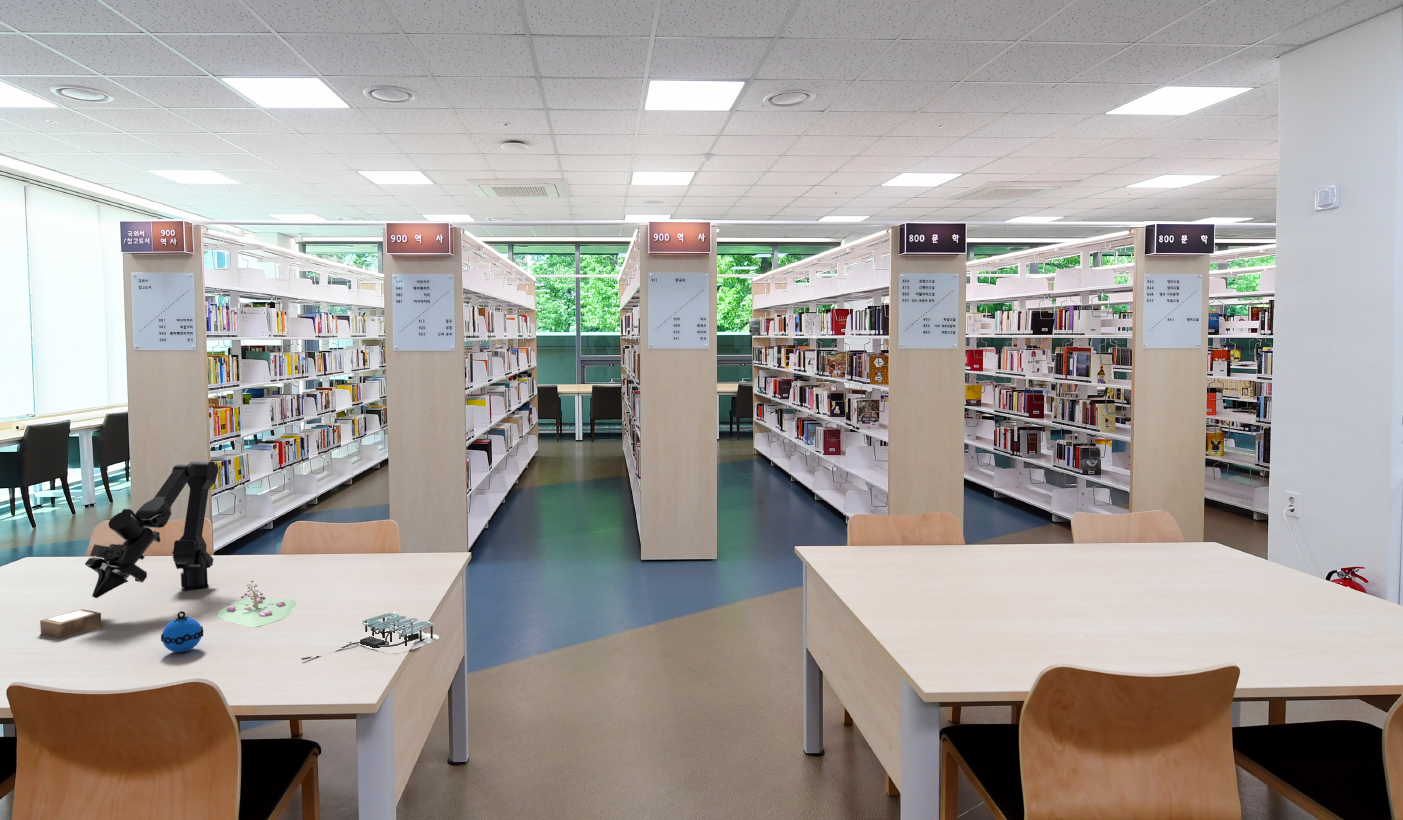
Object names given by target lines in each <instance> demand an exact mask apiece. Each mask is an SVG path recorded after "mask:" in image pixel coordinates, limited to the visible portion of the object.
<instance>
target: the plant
mask: <svg viewBox="0 0 1403 820" xmlns="http://www.w3.org/2000/svg"><path fill="white" fill-rule="evenodd" d="M250 582H251V583H254V580H250ZM246 586H247V589H248V590H247V593H244V595H242V596H240V598H241V599H240V600H237V601H235V602H233V603H231V604H230V605H228V606H226V607H224V608H223V609H221V610H219V611H218V612H217V615H216V617H217V618H218V619H221V620H224V621H226V622H229V623H233V624H236V625H237V624H238V625H241V626H245V627H249V628H257V627H263V626H267V625H270V624H273V623H275V622H279V621H282V620H284V619H286V618H288V617H289V616H290V614H291V613H292V612H293V611H294V609H295V608H296V607H297V606H296V604H297V602H296V601H295V600H294V599H290V598H289V599H287V598H266V596H263V595H264V594H263V593H262V592H261V591H260V592H259V589H258V590H256V589H255V588H257V587H258V584H257V583H255V585H253V584H246ZM253 588H254V589H253ZM249 592H251V593H249ZM248 593H249V595H248ZM258 593H259V594H258ZM245 597H246V598H245ZM295 606H296V607H295ZM294 607H295V608H294ZM292 608H294V609H292ZM291 610H293V611H291ZM290 612H291V613H290Z"/></svg>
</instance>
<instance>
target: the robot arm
mask: <svg viewBox="0 0 1403 820" xmlns="http://www.w3.org/2000/svg"><path fill="white" fill-rule="evenodd" d="M171 471H172V472H171V473H170V475H169V476H168V477H167V479H166V480H165V482H164V483H163V485H162V486H161V488H159V490H158V492H156V494H155V496H154V497H153V498H152V499H150V500H148V501H147V502H145V503H143V504H142V505H141V506H140V508H139V509H138V510H137V511H136V512H134V511H133V510H132V509H131V508H123V509H122V510H121V512H118V513H117V514H115V515H113V517H111V518H110V519H109V521H108V528H109V529H111V531H112V532H114V533H116V534H117V535H118V536H119V537H120V538H121V539H123V540H124V541H123V543H122V544H120V543H119V544H115V543H111V544H110V545H109V546H106V545H100V544H93V547H92V550H91V552H90V556H91V557H90V556H89V558H88V559H87V560H86V562H84V565H85V566H86V567H88V568H89V569H91V570H92V571H94V572H96V573H97V574H98V577H97V582H96V585H95V587H94V590H93V592H92V595H91V597H92V598H94V599H98V598H100V597H102V596H103V595H105V594H107V593H109V592H110V591H112V590H114V589H116V588H117V587H119V586H121V585H123V584H125V583H129V580H128V578H129V577H130V576H131V577H133V578H134V581H135V582H137V583H144V582H145V580H146V579H147V577H148V573H147V571H146V570H144V569H143V568H141V567H140V566H138V565H137V564H136V563H137V562H138V561H139V560H141V561H142V560H144V559H145V555H144V553H145V552H146V551H147V549H148V548H150V545H152V544H153V542H155V543H160V542H161V535H160V534H161V533H160V532H158V531H155V530H153V529H156V528H157V529H161V528H164V527H165V526H166V525H167V524H168V522H169V519H170V517H171V515H172V505H173V504H174V503H175V501H176V500H177V498H178V497H179V495H180V494H181V493H182V491H183V489H184V487H185V486H186V485H188V487H189V493H188V494H189V495H188V502H187V506H186V514H185V522H184V528H183V534H182V536H181V537H180V538H179V540H178V539H177V540H175V541H174V542H173V550H172V553H171V554H172V559H173V562H174V565H175V568H176V570H181V569H182V572H180V586H181V588H183V591H191V590H197V589H198V590H199V589H203V588H209V587H210V586H209V585H210V584H209V582H208V568H211V567H212V566H213V565H214V564H213V563H214V558H213V557H212V556H211V555H210V554H209V553H208V552H207V546H208V545H207V542H206V541H205V539H204V537H203V531H204V523H205V517H206V511H207V503H208V496H209V490H210V489H211V488H212V486H214V484H215V483H216V480H217V478H218V477H217V476H218V474H219V466H218V465H217V464H216V462H215V461H211V460H210V461H209V460H208V461H206V460H203V461H202V460H201V461H200V460H199V461H195V460H193V461H190V462H189V463H188V464H185V463H184V464H181V463H180V464H175V465H174V466H173V467H172V470H171Z"/></svg>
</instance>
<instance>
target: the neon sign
mask: <svg viewBox="0 0 1403 820" xmlns="http://www.w3.org/2000/svg"><path fill="white" fill-rule="evenodd" d="M406 618H407V615H400V614H399V613H396V612H386V613H383V614H380V615H376V616H373V617H370V618H367V619H363V620H362V621H361V625H362V626H364V632H367V631H368V628H370V629H369V630H371V631H372V636H374V632H375V634H379V633H381V634H382V638H385V633H388V634H387V636H386V638H385V641H384V640H381V639H377V638H374V637H372V636H371V637H370V636H369V637H366V638H363V639H360V642H354V643H348V644H346V645H344V646H342V647H340V648H343V649H345V647H346V648H348V647H349V646H353V645H357V644H359V643H360V644H362V645H366V646H370V647H372V648H380V647H393V646H398V645H401V644H404V643H405V646H407V642H410V641H413V640H416V639H417V640H416V642H415V643H414V645H413V647H412V649H411V651H413V650H416V649H418V648H422V647H423V646H427V645H429V644H432V643H434V642H437V641H438V640H439V639H440V636H439V635H438V634H434V632H433V630H434V623H433V622H431V621H427V620H424V621H419V619H418V618H417V617H411V618H407V619H406ZM381 619H382V621H381ZM418 621H419V622H418ZM391 625H393V626H391ZM395 626H397V627H398V628H396V629H395ZM399 626H400V627H399ZM378 627H379V628H378ZM391 627H392V628H391ZM402 627H403V628H402ZM387 628H388V629H389V631H386V632H385V629H387ZM407 628H408V629H407ZM427 628H430V633H425V632H424V631H423V630H425V629H427ZM392 629H393V630H392ZM410 629H411V630H410ZM377 630H378V633H377V632H376V631H377ZM401 630H403V631H402V633H400V632H398V631H401ZM408 630H409V631H408ZM395 631H397V633H398V634H399V639H401V637H404V640H405V641H403V642H401V643H398V644H393V645H389V642H388V641H387V637H388V636H389V634H390V642H392V632H393V633H395ZM406 631H407V632H406ZM418 631H419V633H420V635H419V633H415V632H418ZM413 633H415V634H413ZM407 634H411V635H408V636H407ZM407 638H408V640H407ZM386 643H387V644H386ZM311 657H312V656H308V657H301V658H300V659H301V661H304V660H308V659H309V658H310V659H312V658H311ZM310 659H309V660H310Z"/></svg>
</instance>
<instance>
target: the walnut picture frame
mask: <svg viewBox="0 0 1403 820" xmlns="http://www.w3.org/2000/svg"><path fill="white" fill-rule="evenodd" d="M39 623H40V624H39V625H40V627H39V628H40V635H42V636H47V637H50V638H51V637H52V638H54V639H55V638H56V639H60V640H61V639H63V638H67V637H71V636H74V635H76V634H81V633H84V632H87V631H91V630H94V629H98V628H101V627H102V612H97V611H93V610H89V609H78V610H73V611H71V612H67V613H63V614H59V615H56V616H51V617H47V618H43V619H40V620H39Z"/></svg>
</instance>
